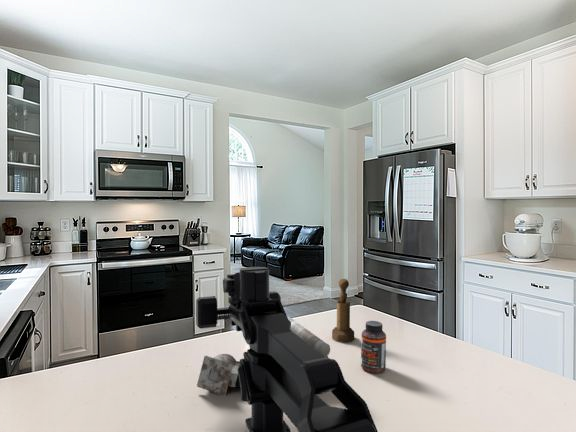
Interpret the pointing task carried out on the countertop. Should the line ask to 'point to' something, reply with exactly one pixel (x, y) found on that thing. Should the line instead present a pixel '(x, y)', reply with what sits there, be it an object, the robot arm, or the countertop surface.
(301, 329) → the cradle
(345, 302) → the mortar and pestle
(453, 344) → the countertop surface
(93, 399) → the countertop surface
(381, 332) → the supplement bottle
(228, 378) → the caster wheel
